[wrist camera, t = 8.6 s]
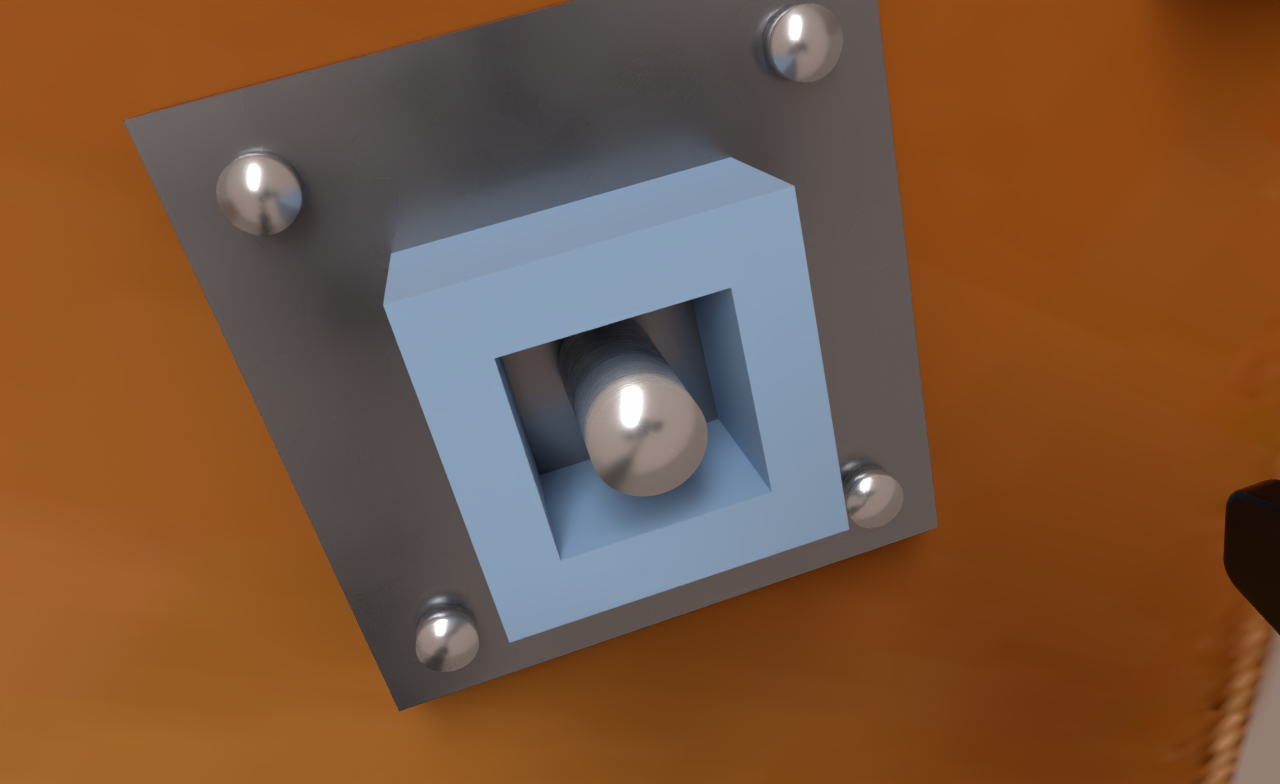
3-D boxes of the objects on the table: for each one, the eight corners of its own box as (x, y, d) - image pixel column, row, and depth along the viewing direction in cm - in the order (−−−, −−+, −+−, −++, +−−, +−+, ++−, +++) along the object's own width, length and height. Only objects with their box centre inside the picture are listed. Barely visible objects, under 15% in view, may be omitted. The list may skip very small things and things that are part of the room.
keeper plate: (904, 494, 21) (1036, 624, 16) (401, 664, 20) (393, 853, 15) (831, -69, 16) (989, -104, 12) (150, 111, 15) (30, 151, 10)
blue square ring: (786, 453, 18) (849, 529, 15) (496, 546, 18) (509, 642, 15) (730, 157, 16) (794, 186, 13) (391, 253, 15) (382, 305, 12)
